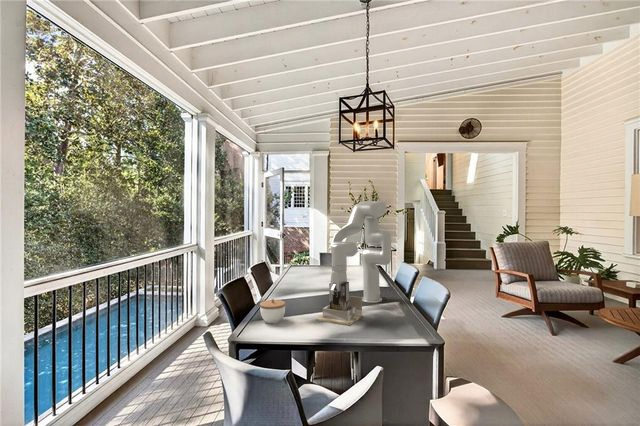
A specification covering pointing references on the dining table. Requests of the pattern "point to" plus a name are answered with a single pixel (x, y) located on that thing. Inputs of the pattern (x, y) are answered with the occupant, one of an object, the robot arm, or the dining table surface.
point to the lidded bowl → (272, 310)
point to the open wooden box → (343, 313)
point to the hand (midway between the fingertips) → (339, 302)
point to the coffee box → (341, 298)
